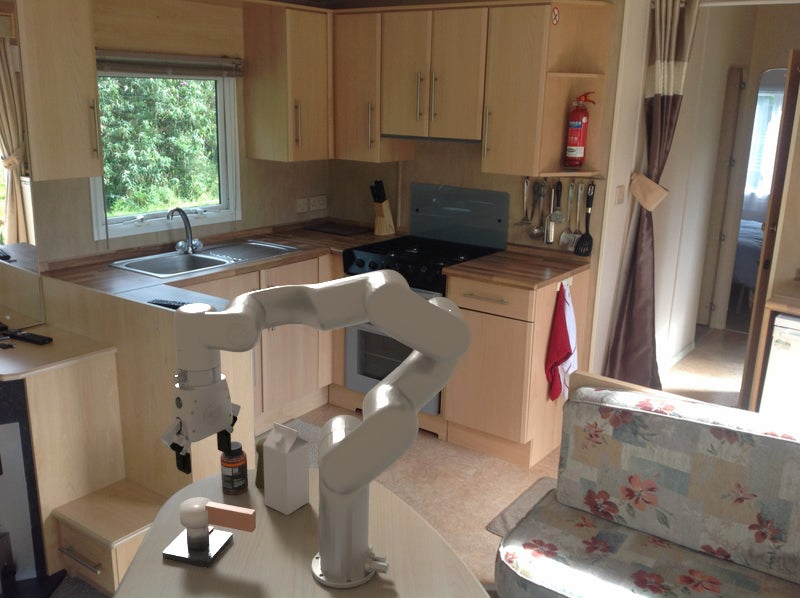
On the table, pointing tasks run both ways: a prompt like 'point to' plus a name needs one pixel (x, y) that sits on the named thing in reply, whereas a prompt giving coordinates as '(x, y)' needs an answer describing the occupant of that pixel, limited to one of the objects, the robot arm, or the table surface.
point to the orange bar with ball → (216, 515)
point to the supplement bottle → (234, 470)
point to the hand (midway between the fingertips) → (205, 461)
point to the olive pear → (260, 464)
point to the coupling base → (198, 554)
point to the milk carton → (286, 470)
